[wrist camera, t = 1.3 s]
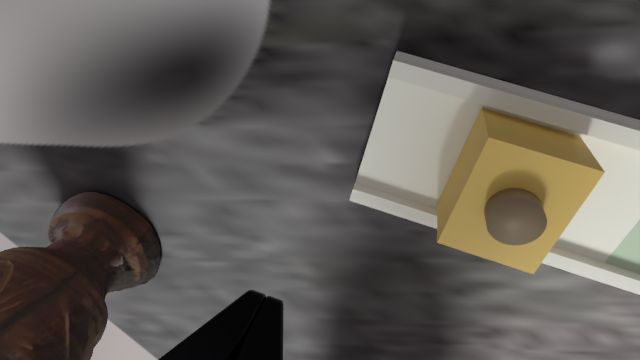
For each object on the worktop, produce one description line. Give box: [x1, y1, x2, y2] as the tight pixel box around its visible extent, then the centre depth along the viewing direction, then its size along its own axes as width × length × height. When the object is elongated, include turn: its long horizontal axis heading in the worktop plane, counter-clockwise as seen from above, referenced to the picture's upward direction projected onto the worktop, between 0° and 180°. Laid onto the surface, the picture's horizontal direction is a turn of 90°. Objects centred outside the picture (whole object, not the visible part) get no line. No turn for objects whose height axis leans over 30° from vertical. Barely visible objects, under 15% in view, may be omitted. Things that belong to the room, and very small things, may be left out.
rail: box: [349, 51, 640, 295], centre depth 17 cm, size 7×18×4 cm, turn 77°
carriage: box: [437, 108, 605, 274], centre depth 17 cm, size 5×4×4 cm
